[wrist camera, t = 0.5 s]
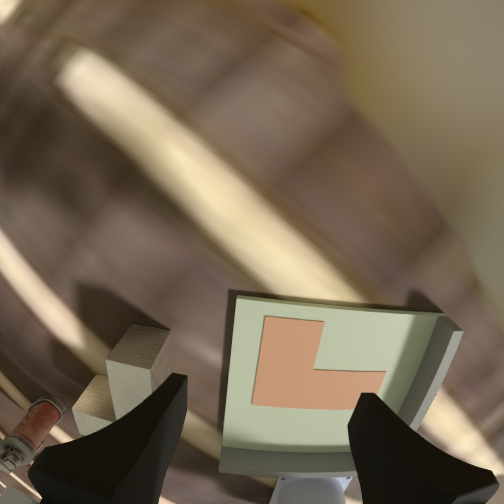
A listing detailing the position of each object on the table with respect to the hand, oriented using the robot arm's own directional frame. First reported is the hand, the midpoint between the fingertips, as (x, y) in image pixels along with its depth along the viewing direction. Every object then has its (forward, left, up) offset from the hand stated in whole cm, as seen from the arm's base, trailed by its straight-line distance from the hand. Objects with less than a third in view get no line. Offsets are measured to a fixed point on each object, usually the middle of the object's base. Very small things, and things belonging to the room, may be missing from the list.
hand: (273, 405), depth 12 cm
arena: (-7, -6, -10) cm, 13 cm away
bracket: (-7, +10, -10) cm, 16 cm away
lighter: (-17, +22, -10) cm, 30 cm away
